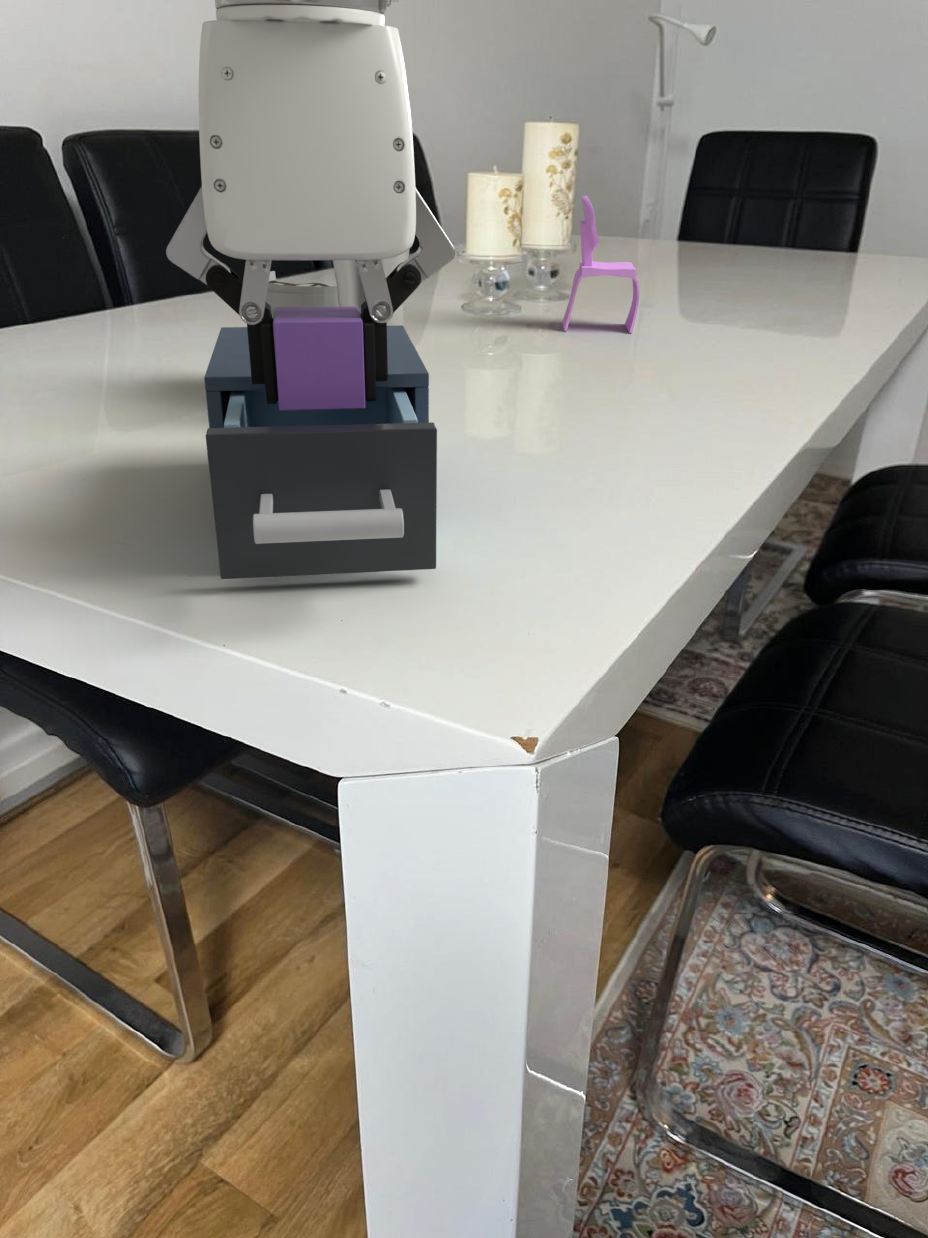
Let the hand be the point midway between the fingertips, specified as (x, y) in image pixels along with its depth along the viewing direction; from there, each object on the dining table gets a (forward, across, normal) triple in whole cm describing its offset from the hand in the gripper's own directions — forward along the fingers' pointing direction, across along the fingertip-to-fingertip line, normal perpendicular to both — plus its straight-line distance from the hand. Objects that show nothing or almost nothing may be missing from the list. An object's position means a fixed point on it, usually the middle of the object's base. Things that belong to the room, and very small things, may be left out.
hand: (320, 392), depth 51 cm
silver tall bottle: (+10, -5, -29) cm, 31 cm away
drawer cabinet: (+9, 0, -11) cm, 14 cm away
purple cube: (0, 0, 0) cm, 0 cm away
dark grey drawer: (+9, 0, 0) cm, 9 cm away
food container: (+10, +1, -37) cm, 38 cm away
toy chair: (+10, -36, -67) cm, 77 cm away
